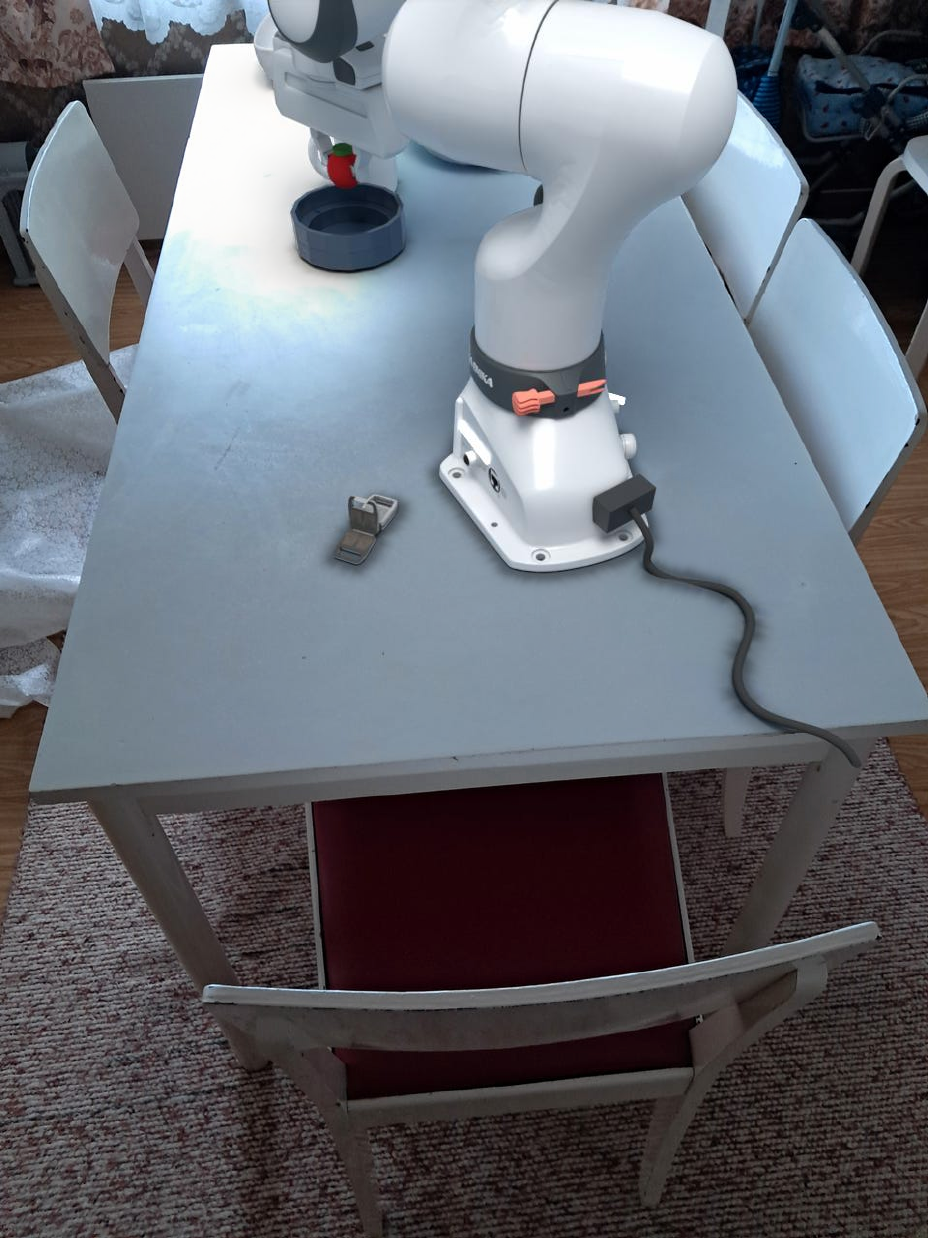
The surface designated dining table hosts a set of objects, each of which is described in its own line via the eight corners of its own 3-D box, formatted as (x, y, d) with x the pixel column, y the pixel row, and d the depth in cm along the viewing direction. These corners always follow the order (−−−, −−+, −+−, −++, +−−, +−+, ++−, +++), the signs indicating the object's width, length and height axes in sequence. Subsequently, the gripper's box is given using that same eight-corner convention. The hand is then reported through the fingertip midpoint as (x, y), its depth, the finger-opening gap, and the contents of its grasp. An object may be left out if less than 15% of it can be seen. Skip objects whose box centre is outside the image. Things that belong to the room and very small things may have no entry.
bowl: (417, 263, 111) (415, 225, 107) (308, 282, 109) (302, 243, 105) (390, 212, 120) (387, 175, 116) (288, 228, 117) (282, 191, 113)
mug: (313, 206, 121) (301, 127, 113) (315, 178, 126) (304, 101, 118) (398, 201, 121) (393, 122, 113) (397, 174, 127) (392, 97, 119)
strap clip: (373, 498, 84) (368, 464, 81) (401, 506, 83) (397, 473, 80) (331, 558, 79) (324, 525, 76) (360, 567, 78) (354, 534, 75)
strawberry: (368, 192, 108) (364, 151, 104) (333, 197, 107) (327, 156, 103) (360, 176, 110) (356, 136, 106) (326, 181, 109) (320, 141, 106)
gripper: (249, 30, 99) (272, 156, 110) (371, 76, 90) (383, 208, 101) (292, 16, 102) (310, 139, 113) (414, 59, 93) (421, 189, 104)
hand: (345, 172), depth 107 cm, fingers closed on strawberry, 4 cm apart
